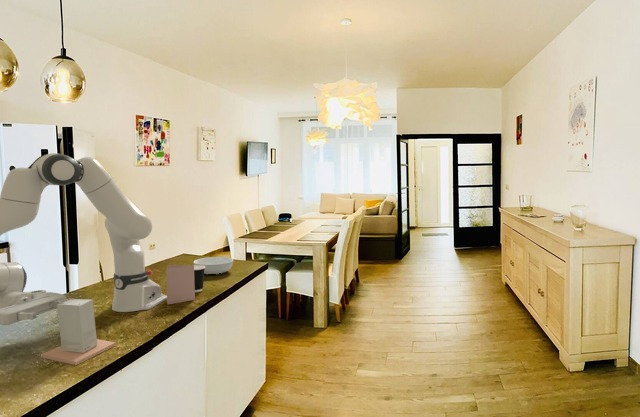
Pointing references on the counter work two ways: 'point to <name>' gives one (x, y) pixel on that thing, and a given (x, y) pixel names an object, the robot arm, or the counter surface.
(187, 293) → the greeting card
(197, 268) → the dixie cup
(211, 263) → the serving bowl
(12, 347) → the counter surface
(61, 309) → the skincare box
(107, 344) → the terracotta mat
